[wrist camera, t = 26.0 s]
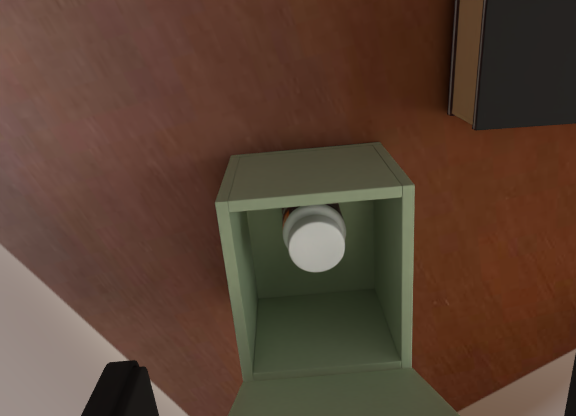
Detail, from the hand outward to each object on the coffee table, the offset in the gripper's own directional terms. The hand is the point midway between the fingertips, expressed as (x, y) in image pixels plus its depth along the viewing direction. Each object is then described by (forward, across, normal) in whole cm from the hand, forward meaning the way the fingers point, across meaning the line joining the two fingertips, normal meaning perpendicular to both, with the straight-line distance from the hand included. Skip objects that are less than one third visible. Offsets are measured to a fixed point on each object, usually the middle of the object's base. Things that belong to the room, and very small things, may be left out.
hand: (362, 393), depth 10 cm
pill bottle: (+30, 0, +7) cm, 31 cm away
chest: (+30, 0, +10) cm, 32 cm away
